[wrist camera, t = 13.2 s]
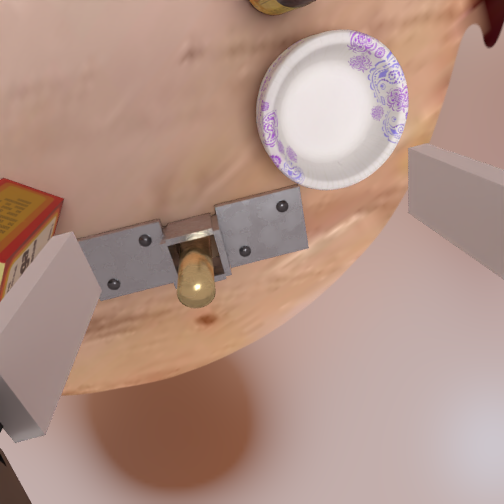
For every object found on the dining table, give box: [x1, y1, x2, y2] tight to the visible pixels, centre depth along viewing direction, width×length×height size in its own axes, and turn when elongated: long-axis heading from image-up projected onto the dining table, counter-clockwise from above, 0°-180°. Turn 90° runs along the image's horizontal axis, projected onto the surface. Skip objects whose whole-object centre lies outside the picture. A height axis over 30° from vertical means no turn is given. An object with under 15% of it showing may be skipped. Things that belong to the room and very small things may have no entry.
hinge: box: [77, 184, 309, 301], centre depth 47 cm, size 29×9×5 cm, turn 102°
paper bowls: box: [256, 30, 409, 190], centre depth 40 cm, size 15×15×8 cm
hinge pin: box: [177, 236, 215, 308], centre depth 44 cm, size 4×4×12 cm
